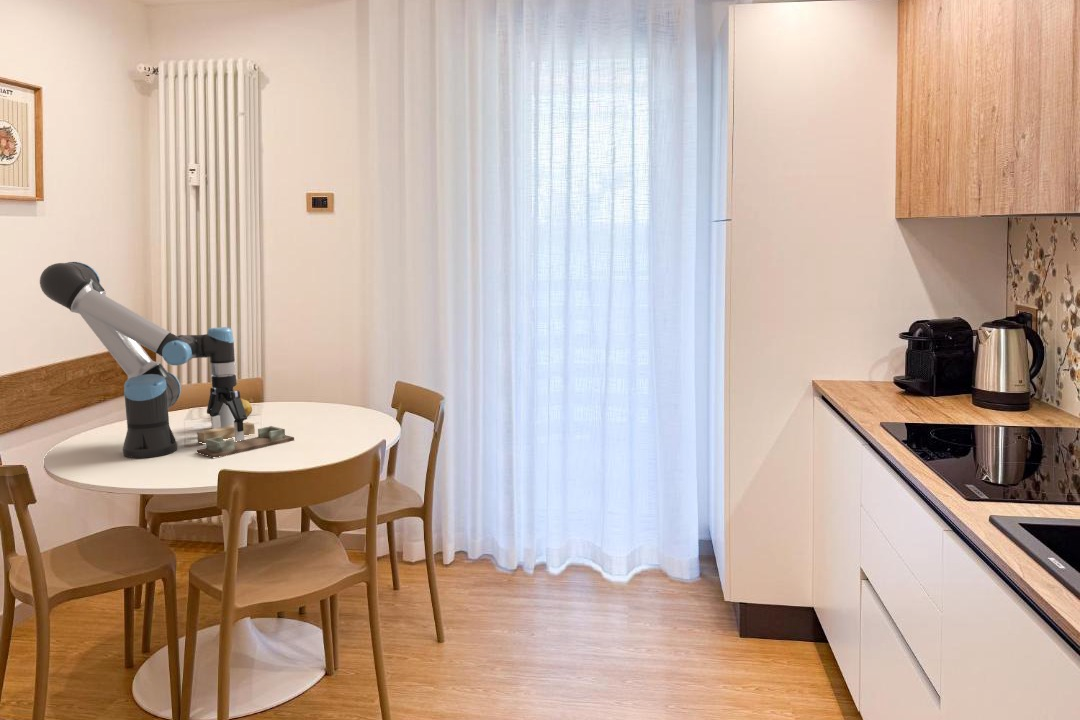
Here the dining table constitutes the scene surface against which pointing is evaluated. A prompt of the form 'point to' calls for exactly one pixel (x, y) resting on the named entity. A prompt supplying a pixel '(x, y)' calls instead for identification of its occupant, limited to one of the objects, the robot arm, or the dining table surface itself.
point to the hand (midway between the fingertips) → (228, 438)
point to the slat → (224, 432)
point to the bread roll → (246, 407)
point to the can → (226, 416)
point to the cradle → (245, 442)
